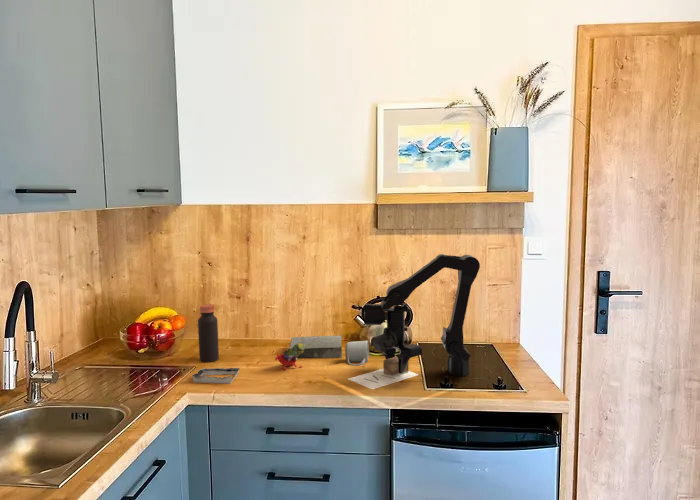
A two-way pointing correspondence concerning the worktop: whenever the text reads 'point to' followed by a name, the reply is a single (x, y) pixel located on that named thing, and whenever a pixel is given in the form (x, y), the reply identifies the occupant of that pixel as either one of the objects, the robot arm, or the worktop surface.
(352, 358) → the ceramic mug
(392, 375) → the sanding block
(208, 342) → the bottle
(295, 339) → the stone block
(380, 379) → the board
